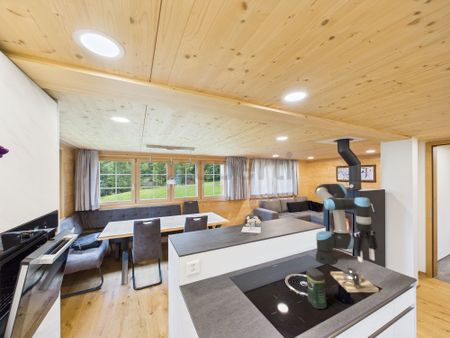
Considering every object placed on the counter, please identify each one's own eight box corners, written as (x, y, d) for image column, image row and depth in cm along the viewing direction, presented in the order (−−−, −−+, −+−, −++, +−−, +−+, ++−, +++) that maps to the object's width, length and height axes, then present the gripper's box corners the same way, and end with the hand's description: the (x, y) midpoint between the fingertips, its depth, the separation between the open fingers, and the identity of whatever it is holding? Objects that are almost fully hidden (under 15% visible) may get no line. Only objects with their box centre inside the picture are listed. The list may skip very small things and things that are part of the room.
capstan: (342, 273, 126) (341, 262, 127) (359, 276, 122) (358, 264, 123) (347, 288, 110) (346, 275, 111) (367, 291, 106) (366, 278, 107)
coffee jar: (329, 308, 97) (327, 273, 98) (316, 311, 96) (314, 275, 97) (317, 297, 107) (315, 265, 108) (305, 299, 105) (303, 266, 106)
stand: (330, 274, 130) (330, 271, 130) (356, 274, 129) (356, 271, 129) (348, 292, 110) (347, 288, 110) (378, 292, 109) (378, 288, 109)
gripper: (371, 220, 116) (374, 255, 115) (344, 222, 112) (346, 259, 111) (383, 222, 109) (386, 261, 108) (354, 225, 105) (357, 265, 104)
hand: (366, 260), depth 110 cm, fingers open, 8 cm apart
